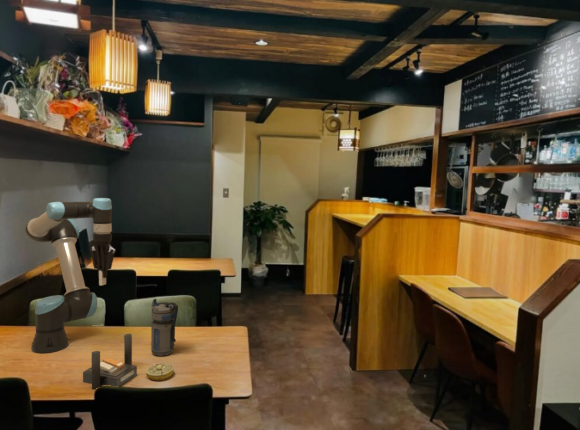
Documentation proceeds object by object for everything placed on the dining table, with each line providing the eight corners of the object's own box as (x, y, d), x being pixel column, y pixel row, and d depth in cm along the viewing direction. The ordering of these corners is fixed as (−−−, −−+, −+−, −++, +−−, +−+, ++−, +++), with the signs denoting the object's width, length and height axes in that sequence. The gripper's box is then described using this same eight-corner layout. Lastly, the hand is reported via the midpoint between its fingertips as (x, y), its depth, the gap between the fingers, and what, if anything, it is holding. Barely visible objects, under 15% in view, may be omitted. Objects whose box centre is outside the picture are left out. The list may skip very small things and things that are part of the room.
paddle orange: (103, 362, 170) (103, 359, 170) (108, 359, 173) (108, 357, 172) (119, 368, 168) (119, 366, 168) (123, 366, 171) (124, 363, 170)
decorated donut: (156, 368, 179) (156, 360, 179) (178, 373, 176) (178, 364, 176) (140, 379, 169) (140, 370, 169) (163, 384, 166) (163, 374, 166)
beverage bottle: (170, 359, 188) (171, 305, 186) (145, 354, 192) (145, 301, 190) (182, 350, 198) (183, 299, 196) (158, 346, 202) (158, 295, 199)
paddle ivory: (96, 366, 166) (96, 363, 166) (101, 363, 169) (101, 361, 169) (112, 373, 164) (112, 370, 164) (116, 370, 167) (117, 367, 167)
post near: (89, 388, 160) (89, 353, 159) (95, 385, 163) (95, 350, 162) (96, 390, 159) (96, 354, 158) (102, 386, 162) (101, 351, 161)
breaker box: (82, 381, 165) (82, 369, 165) (104, 368, 177) (104, 357, 176) (117, 388, 161) (117, 376, 160) (137, 375, 172) (137, 363, 172)
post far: (122, 367, 178) (122, 336, 177) (127, 364, 181) (127, 333, 180) (128, 369, 177) (128, 337, 176) (133, 366, 180) (133, 334, 179)
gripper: (84, 232, 185) (84, 285, 187) (108, 234, 181) (108, 288, 183) (96, 230, 192) (96, 281, 194) (120, 232, 188) (120, 284, 190)
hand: (102, 284), depth 189 cm, fingers closed
